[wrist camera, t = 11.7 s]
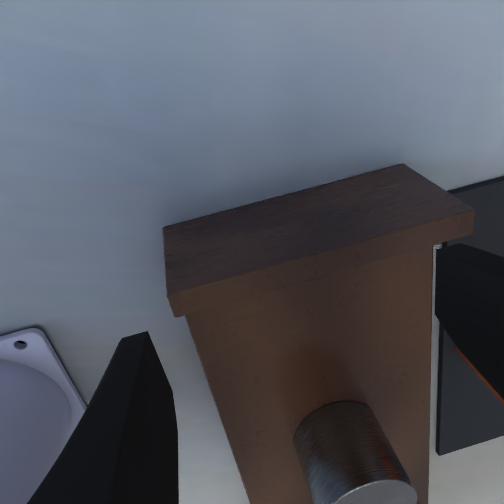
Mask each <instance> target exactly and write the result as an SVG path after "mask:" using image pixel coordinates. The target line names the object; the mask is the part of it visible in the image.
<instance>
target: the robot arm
mask: <svg viewBox="0 0 504 504" xmlns="http://www.w3.org/2000/svg"><path fill="white" fill-rule="evenodd" d="M435 315H436V317H437V318H438V320H439V321H440V323H441V324H442V326H443V327H444V329H445V331H446V332H447V334H448V335H449V336H450V338H451V339H452V341H453V342H454V344H455V345H456V346H457V348H458V349H459V350H460V351H461V352H462V354H463V355H464V356H465V357H466V358H467V359H468V360H469V362H470V363H471V364H472V365H473V366H474V367H475V368H476V370H477V371H478V372H479V373H480V374H481V375H482V376H483V377H484V379H485V380H486V381H487V382H488V383H489V384H490V385H491V386H492V388H493V389H494V390H495V391H496V392H497V393H498V394H499V395H500V396H501V398H502V399H503V400H504V257H501V256H499V255H496V254H493V253H490V252H487V251H484V250H481V249H478V248H475V247H472V246H469V245H465V244H462V243H458V244H454V245H450V246H447V247H443V248H440V249H436V287H435ZM19 340H22V341H25V342H26V344H21V343H18V342H17V341H19ZM0 504H179V491H178V429H177V421H176V413H175V406H174V399H173V391H172V389H171V386H170V384H169V381H168V379H167V377H166V374H165V372H164V369H163V367H162V364H161V362H160V360H159V357H158V355H157V352H156V350H155V348H154V345H153V343H152V340H151V338H150V335H149V333H148V331H146V332H142V333H139V334H135V335H131V336H128V337H124V338H122V339H121V341H120V342H119V344H118V346H117V348H116V350H115V352H114V354H113V357H112V359H111V361H110V363H109V365H108V367H107V369H106V371H105V373H104V375H103V377H102V379H101V381H100V383H99V385H98V387H97V389H96V391H95V393H94V395H93V397H92V399H91V401H90V403H89V404H88V406H87V407H86V405H85V404H84V402H83V400H82V398H81V397H80V395H79V393H78V391H77V390H76V388H75V386H74V384H73V383H72V381H71V379H70V378H69V376H68V374H67V372H66V371H65V369H64V367H63V365H62V364H61V362H60V360H59V358H58V357H57V355H56V353H55V351H54V350H53V348H52V346H51V344H50V343H49V341H48V339H47V337H46V336H45V334H44V333H43V332H42V331H41V330H39V329H36V328H29V329H25V330H22V331H18V332H14V333H11V334H7V335H4V336H0Z"/></svg>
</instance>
